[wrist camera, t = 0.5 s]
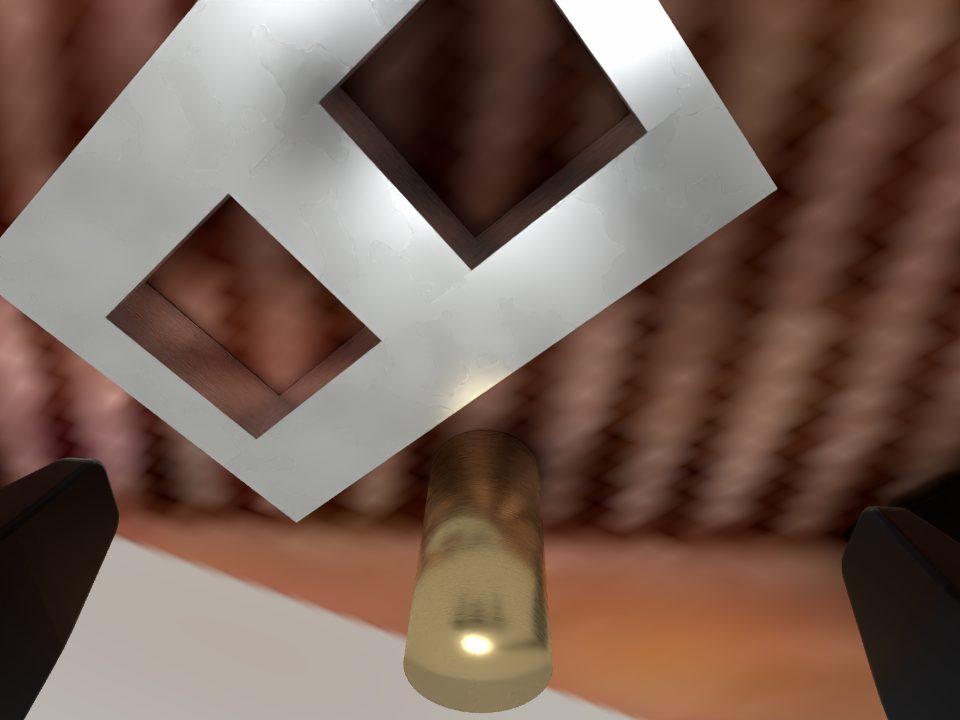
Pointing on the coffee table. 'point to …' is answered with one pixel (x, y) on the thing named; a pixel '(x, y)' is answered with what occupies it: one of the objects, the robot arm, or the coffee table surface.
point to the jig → (357, 230)
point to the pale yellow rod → (481, 579)
